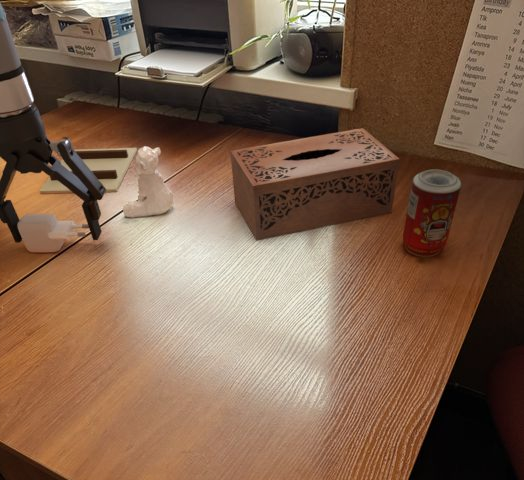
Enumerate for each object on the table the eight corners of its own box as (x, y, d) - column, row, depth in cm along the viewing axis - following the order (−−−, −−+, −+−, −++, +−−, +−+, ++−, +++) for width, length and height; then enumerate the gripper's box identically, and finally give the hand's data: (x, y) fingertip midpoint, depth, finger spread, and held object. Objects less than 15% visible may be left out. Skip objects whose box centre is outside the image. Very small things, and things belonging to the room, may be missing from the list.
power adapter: (97, 239, 89) (87, 209, 85) (89, 255, 86) (78, 224, 82) (36, 240, 90) (24, 210, 86) (25, 255, 87) (12, 225, 83)
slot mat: (40, 193, 103) (36, 184, 101) (69, 152, 117) (66, 143, 116) (116, 191, 102) (114, 182, 101) (137, 150, 116) (135, 141, 115)
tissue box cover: (256, 240, 87) (253, 186, 80) (234, 201, 97) (230, 150, 90) (391, 212, 92) (399, 159, 85) (357, 178, 102) (362, 128, 94)
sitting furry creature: (146, 193, 101) (132, 133, 92) (185, 199, 99) (175, 137, 90) (122, 217, 95) (105, 154, 86) (162, 223, 92) (149, 160, 84)
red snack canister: (415, 263, 80) (429, 191, 72) (393, 240, 85) (404, 171, 76) (453, 254, 82) (472, 182, 73) (430, 232, 86) (445, 163, 78)
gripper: (101, 94, 74) (134, 223, 88) (-63, 102, 75) (-3, 227, 90) (86, 113, 68) (125, 247, 83) (-89, 121, 70) (-21, 251, 85)
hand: (59, 237), depth 87 cm, fingers open, 13 cm apart
